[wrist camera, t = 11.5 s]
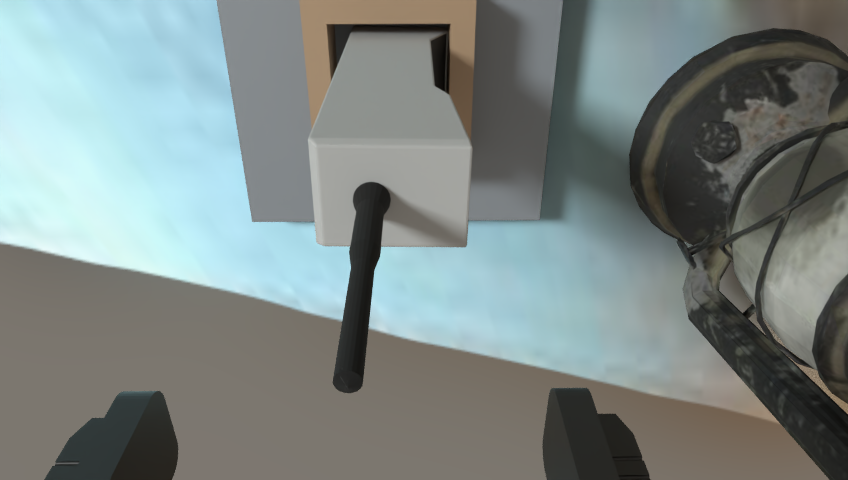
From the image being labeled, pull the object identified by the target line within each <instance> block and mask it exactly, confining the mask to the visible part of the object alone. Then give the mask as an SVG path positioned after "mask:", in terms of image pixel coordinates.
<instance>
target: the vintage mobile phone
mask: <svg viewBox="0 0 848 480" xmlns="http://www.w3.org/2000/svg"><path fill="white" fill-rule="evenodd" d="M447 49H448V29H447V28H446V27H397V26H353V28H352V31H351V33H350V36H349V38H348V41H347V43H346V46H345V48H344V51H343V53H342V56H341V58H340V61H339V63H338V66H337V68H336V71H335V73H334V76H333V78H332V81H331V83H330V86H329V88H328V91H327V93H326V96H325V98H324V101H323V103H322V105H321V108H320V110H319V113H318V115H317V118H316V120H315V123H314V125H313V128H312V130H311V133H310V135H309V138H308V146H309V158H310V170H311V183H312V195H313V207H314V219H315V231H316V242H317V243H318V244H320V245H323V246H350V251H349V255H350V262H351V272H350V278H349V284H348V290H347V296H346V303H345V309H344V315H343V321H342V328H341V334H340V340H339V346H338V352H337V358H336V365H335V371H334V377H333V385H334V386H335V387H336V389H338V390H339V391H341V392H344V393H353V392H356V391H358V390H359V389H360V388H361V387H362V384H363V375H364V366H365V355H366V346H367V336H368V327H369V317H370V307H371V297H372V287H373V278H374V270H375V267H376V265H377V262H378V260H379V257H380V252H381V247H466V246H467V234H468V217H469V201H470V184H471V168H472V151H473V147H472V143H471V141H470V138H469V136H468V134H467V132H466V129H465V127H464V125H463V123H462V121H461V118H460V116H459V114H458V112H457V110H456V107H455V105H454V103H453V101H452V98H451V96H450V95H449V94H447V93H446V78H447Z"/></svg>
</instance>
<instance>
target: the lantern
mask: <svg viewBox="0 0 848 480" xmlns="http://www.w3.org/2000/svg"><path fill="white" fill-rule="evenodd" d="M629 158H630V179H631V188H632V190H633V192H634V195H635V197H636V200H637V202H638V204H639V207H640V208H641V209H642V211H643V212H644V213H645V215H646V216H647V217H648V218H649V220H650V221H651V222H652V224H654V225H655V226H656V227H658V228H659V229H660V230H661V231H663V232H664V233H666V234H668V235H670V236H672V237H674V238H676V239H678V241H677V244H678V246H679V248H680V249H681V251H682V253H683V255H684V257H685V259H686V260H687V262H688V263H689V265H690V266H689V269H688V273H687V276H686V280H685V283H684V286H683V293H684V298H685V304H686V309H687V312H688V317H689V320H690V321H691V322H692V323H693V324H694V325H695V327H696V328H697V329H698V330H699V331H700V332H701V333H702V335H703V336H704V337H705V338H706V339H707V340H708V341H709V343H710V344H711V345H712V346H713V347H714V348H715V349H716V351H717V352H718V353H719V354H720V355H721V356H722V357H723V359H724V360H725V361H726V362H727V363H728V364H729V365H730V367H731V368H732V369H733V370H734V371H735V372H736V373H737V375H738V376H739V377H740V378H741V379H742V380H743V381H744V383H745V384H746V385H747V386H748V387H749V388H750V389H751V391H752V392H753V393H754V394H755V395H756V396H757V397H758V399H759V400H760V401H761V402H762V403H763V404H764V405H765V407H766V408H767V409H768V410H769V411H770V412H771V413H772V415H773V416H774V417H775V418H776V419H777V420H778V421H779V423H780V424H781V425H782V426H783V427H784V428H785V429H786V431H787V432H788V433H789V434H790V435H791V436H792V437H793V438H794V440H795V441H796V442H797V443H798V444H799V445H800V446H801V448H802V449H803V450H804V451H805V452H806V453H807V454H808V456H809V457H810V458H811V459H812V460H813V461H814V462H815V464H816V465H817V466H818V467H819V468H820V469H821V470H822V472H824V474H825V475H826V476H827V477H828V478H829V480H848V414H847V413H846V412H845V411H844V410H843V409H841V408H840V407H839V406H838V405H837V404H836V403H835V402H834V401H833V400H832V399H831V398H830V397H829V396H828V395H827V394H826V393H825V392H824V391H823V390H822V389H821V388H820V387H819V386H818V385H817V384H815V383H814V382H813V381H812V380H811V379H810V378H809V377H808V376H807V375H806V374H805V373H804V372H803V371H802V370H801V369H800V368H799V367H798V366H797V365H796V364H795V363H794V362H793V361H792V360H794V361H795V362H796V363H797V364H800V365H803V366H806V367H810V368H813V369H816V370H817V371H818V373H819V377H820V378H821V380H822V381H823V382H824V384H825V385H826V386H827V388H828V389H829V390H830V391H831V393H832V394H834V395H835V396H837V397H838V398H840V399H841V400H843V401H844V402H846V403H847V404H848V56H847V55H845V54H844V53H843V52H842V51H841V50H840V49H838V48H837V47H836V46H835V45H833V44H832V43H831V42H830V41H828V40H827V39H824V38H821V37H818V36H815V35H812V34H809V33H806V32H803V31H799V30H789V29H774V28H773V29H768V30H763V31H758V32H753V33H748V34H744V35H739V36H734V37H731V38H729V39H727V40H725V41H723V42H721V43H719V44H718V45H716V46H714V47H712V48H710V49H708V50H706V51H704V52H702V53H700V54H698V55H696V56H694V57H693V58H691V59H690V60H689V61H688V62H687V63H686V64H685V65H684V66H682V67H681V68H680V69H679V70H678V71H677V72H676V73H675V74H673V75H672V76H671V77H670V78H669V79H668V80H667V81H666V82H665V84H664V85H663V86H662V87H661V88H660V90H659V91H658V92H657V93H656V94H655V96H654V97H653V98H652V99H651V100H650V102H649V104H648V106H647V108H646V110H645V112H644V114H643V116H642V118H641V120H640V122H639V124H638V126H637V128H636V131H635V135H634V138H633V142H632V146H631V150H630V154H629ZM683 241H684V242H687V243H689V244H692V245H693V246H691V247H689V248H687V246H686V244H685V243H684V242H683ZM695 253H696V254H695ZM693 254H695V256H694V258H693V257H692V255H693ZM731 261H732V262H733V263H734V273H735V275H736V277H737V279H738V280H739V282H740V284H741V286H742V288H743V290H744V292H745V294H746V295H747V297H748V298H749V299H750V301H751V302H752V303H753V304H752V305H751V306H750V307H749V308H748V309H747V310H746V311H745V312H744V313H742V312H741V311H740V310H738V309H737V308H736V307H735V306H734V305H733V304H732V303H731V302H730V301H729V300H728V299H727V298H726V297H725V296H724V295H723V294H722V293H721V292H720V291H719V283H720V280H721V278H722V276H723V274H724V273H725V271H726V269H727V267H728V265H729V264H730V262H731ZM755 311H756V313H757V321H758V323H759V324H760V326H761V328H762V329H763V331H764V333H765V334H766V335H764V334H763V333H762V332H761V331H760V330H759V329H758V328H757V327H756V326H755V325H754V324H753V323H752V322H751V321H750V320H749V319H748V318H749V317H750V316H751V315H752V314H753V313H754V312H755ZM763 318H764V319H765V320H766V321H767V323H768V324H769V325H770V327H771V328H772V329H773V331H774V332H775V333H776V334H777V336H778V337H779V338H780V340H781V341H782V342H783V344H784V345H785V346H786V347H787V348H788V349H789V350H790V351H792V352H793V353H794V354H796V355H797V356H798V357H800V358H801V359H800V358H798V357H797V356H796V355H794V354H793V353H792V352H790V351H789V350H788V349H786V348H785V347H784V346H782V345H781V344H780V343H778V342H777V341H776V340H775V339H774V337H773V336H772V334H771V332H770V331H769V329H768V328H767V326H766V324H765V323H764V321H763ZM784 353H785V354H786V355H787V356H788V357H790V358H791V359H792V360H790V359H789V358H788V357H787V356H786V355H785V354H784Z"/></svg>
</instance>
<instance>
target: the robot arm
mask: <svg viewBox="0 0 848 480" xmlns="http://www.w3.org/2000/svg"><path fill="white" fill-rule="evenodd" d="M177 460H178V443H177V439H176V436H175V432H174V429H173V425H172V422H171V419H170V415H169V411H168V408H167V405H166V401H165V399H164V395H163V394H162V393H161V392H160V391H129V392H128V391H127V392H121V393H119V394H118V395H117V397H116V398H115V400H114V401H113V403H112V405H111V407H110V409H109V410H108V412H107V414H106V416H105V418H92V419H91V420H90V421H88V422H87V423H86V424H85V425H84V426H83V427H82V428H81V429H79V430H78V431H77V432H76V433H75V434H74V435H73V436H72V437H70V438H69V440H68V442H67V443H66V445H65V447H64V448H63V450H62V452H61V453H60V455H59V456H58V458H57V460H56V464H55V466H52V468H51V470H50V471H49V473H48V475H47V476H46V478H45V480H172V478H173V476H174V473H175V470H176V465H177ZM543 461H544V468H545V473H546V477H547V480H650V478H649V473H648V470H647V468H646V465H645V463H644V461H642V455H641V452H640V450H639V447H638V445H637V442H636V440H635V437H634V435H633V433H632V432H631V431H630V430H629V428H628V427H627V426H626V425H625V424H624V423H623V422H622V421H621V420H620V418H619V417H618V416H617V415H616V414H598V413H597V411H596V408H595V405H594V402H593V399H592V396H591V393H590V391H589V390H588V389H587V388H552V389H551V390H550V393H549V399H548V406H547V414H546V421H545V428H544V435H543Z"/></svg>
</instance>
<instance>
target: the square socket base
mask: <svg viewBox="0 0 848 480" xmlns="http://www.w3.org/2000/svg"><path fill="white" fill-rule="evenodd" d="M217 6H218V12H219V18H220V24H221V30H222V37H223V43H224V49H225V55H226V61H227V68H228V74H229V80H230V86H231V92H232V99H233V105H234V111H235V117H236V123H237V130H238V136H239V142H240V148H241V154H242V161H243V167H244V173H245V179H246V185H247V192H248V198H249V204H250V210H251V216H252V222H301V221H315V219H314V207H313V195H312V183H311V170H310V158H309V146H308V138H309V135H310V133H311V130H312V128H313V125H314V123H315V120H316V118H317V115H318V113H319V110H320V108H321V105H322V103H323V101H324V98H325V96H326V93H327V91H328V88H329V86H330V83H331V81H332V78H333V76H334V73H335V71H336V68H337V66H338V63H339V61H340V58H341V56H342V53H343V51H344V48H345V46H346V43H347V41H348V38H349V36H350V33H351V31H352V28H353V26H397V27H446V28H447V29H448V49H447V78H446V93H447V94H449V95H450V96H451V98H452V101H453V103H454V105H455V107H456V110H457V112H458V114H459V116H460V118H461V121H462V123H463V125H464V127H465V129H466V132H467V134H468V136H469V138H470V141H471V143H472V147H473V151H472V168H471V184H470V201H469V217H468V220H540V211H541V201H542V192H543V183H544V174H545V164H546V155H547V146H548V136H549V127H550V118H551V108H552V99H553V90H554V80H555V71H556V62H557V52H558V43H559V34H560V24H561V15H562V6H563V0H217Z"/></svg>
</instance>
